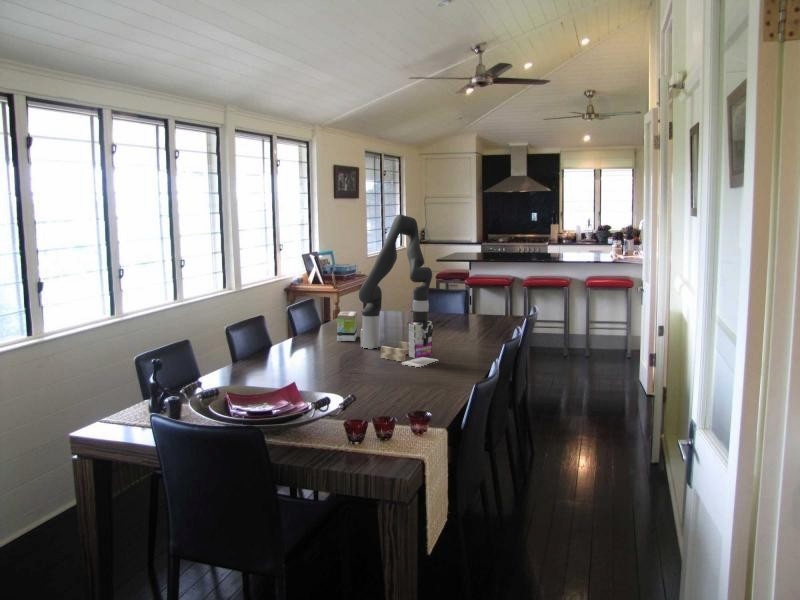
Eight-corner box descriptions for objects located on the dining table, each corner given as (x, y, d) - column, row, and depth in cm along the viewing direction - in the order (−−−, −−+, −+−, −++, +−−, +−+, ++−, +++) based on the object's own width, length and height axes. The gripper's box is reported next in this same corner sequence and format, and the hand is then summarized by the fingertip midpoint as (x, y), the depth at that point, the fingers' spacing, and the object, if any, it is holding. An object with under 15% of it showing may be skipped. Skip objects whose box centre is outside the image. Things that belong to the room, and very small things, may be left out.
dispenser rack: (380, 358, 334) (380, 346, 333) (400, 352, 346) (400, 341, 345) (403, 362, 325) (404, 350, 324) (423, 356, 337) (423, 345, 336)
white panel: (401, 364, 320) (401, 362, 320) (421, 358, 333) (421, 356, 333) (418, 367, 314) (418, 365, 314) (438, 361, 327) (438, 359, 327)
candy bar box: (425, 353, 329) (425, 320, 326) (432, 355, 325) (432, 321, 322) (407, 356, 322) (408, 322, 319) (414, 358, 318) (415, 324, 315)
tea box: (355, 342, 373) (354, 315, 371) (336, 341, 373) (336, 315, 371) (357, 336, 388) (357, 310, 385) (339, 336, 388) (339, 310, 386)
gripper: (403, 309, 321) (403, 344, 324) (428, 312, 313) (428, 348, 315) (413, 307, 327) (412, 341, 330) (437, 310, 319) (437, 345, 321)
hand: (420, 344), depth 322 cm, fingers closed on candy bar box, 5 cm apart
